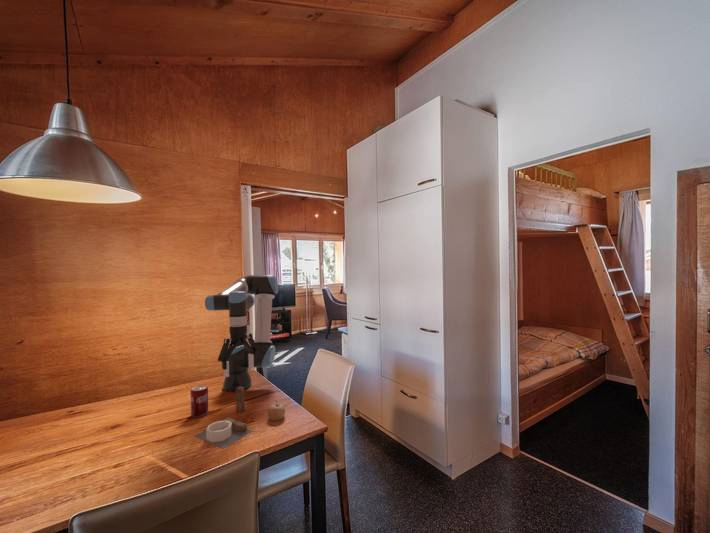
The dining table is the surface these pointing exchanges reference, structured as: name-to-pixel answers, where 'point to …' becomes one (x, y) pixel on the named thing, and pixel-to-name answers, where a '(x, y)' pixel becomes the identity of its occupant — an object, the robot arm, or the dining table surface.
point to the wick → (237, 425)
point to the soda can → (199, 401)
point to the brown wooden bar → (240, 400)
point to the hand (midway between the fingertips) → (239, 371)
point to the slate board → (226, 442)
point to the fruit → (276, 412)
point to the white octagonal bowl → (219, 431)
